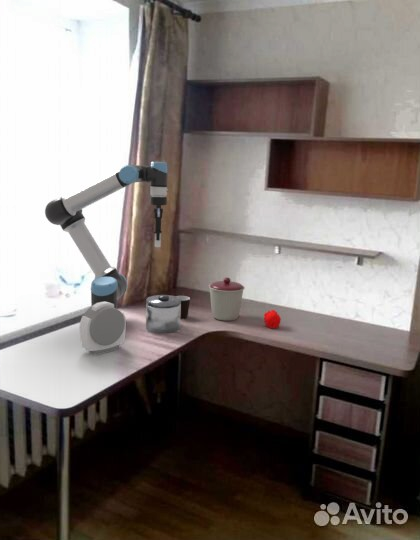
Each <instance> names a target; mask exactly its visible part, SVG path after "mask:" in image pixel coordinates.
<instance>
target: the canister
mask: <svg viewBox="0 0 420 540" xmlns="http://www.w3.org/2000/svg"><path fill="white" fill-rule="evenodd" d="M208 288H209V296H210V306H211V307H210V308H211V315H212V316H213V318H215V319H216V320H219V321H226V322H227V321H235V320H237V318H238V317H239V316H240V315H239V314H240V312H241V311H240V310H241V304H242V300H243V294H244V293H243V292H244V290H245V288H246V287H245V286H244V285H242V284H241V283H240V282H236V281H232V280H231V278H230V277H223V280H219V281H214V282H212V283H210V284H209V285H208Z"/></svg>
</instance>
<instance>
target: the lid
mask: <svg viewBox="0 0 420 540" xmlns="http://www.w3.org/2000/svg"><path fill="white" fill-rule="evenodd" d="M145 303H147V304H148V305H150V306H153V307H161V308H168V307H175V306H178V305H180V304H181V299H180V298H178V297H176V296H175V295H169V294H155V295H151V296H148V297H147V298H146V301H145Z"/></svg>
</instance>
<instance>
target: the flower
mask: <svg viewBox="0 0 420 540" xmlns="http://www.w3.org/2000/svg"><path fill="white" fill-rule="evenodd" d="M263 320H264V323H265V326H266V328H269V329H278V327H279V326H280V324H281V320H282V319H281V316H280V314H278V312H277V311H276V310H275V309H272V310H268V311H267V312H265V313H264V315H263Z"/></svg>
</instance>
